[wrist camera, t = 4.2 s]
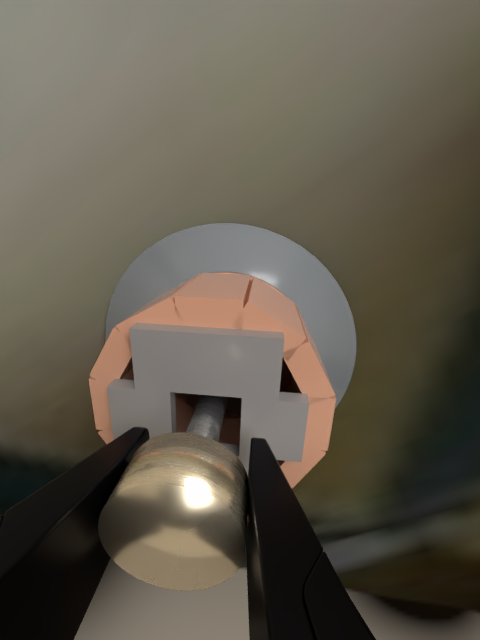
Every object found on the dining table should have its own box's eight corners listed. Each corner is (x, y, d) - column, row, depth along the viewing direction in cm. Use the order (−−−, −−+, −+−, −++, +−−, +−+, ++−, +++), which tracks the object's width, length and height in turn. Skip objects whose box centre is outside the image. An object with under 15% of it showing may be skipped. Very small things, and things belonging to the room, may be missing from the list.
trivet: (334, 456, 16) (336, 465, 16) (123, 436, 17) (118, 444, 16) (374, 228, 12) (379, 228, 12) (97, 217, 13) (90, 217, 12)
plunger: (277, 416, 14) (289, 636, 6) (170, 406, 14) (67, 605, 7) (287, 311, 12) (318, 450, 5) (165, 304, 13) (21, 422, 5)
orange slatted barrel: (298, 461, 16) (312, 568, 11) (153, 447, 16) (104, 543, 11) (322, 276, 12) (356, 311, 8) (139, 267, 13) (64, 293, 8)
